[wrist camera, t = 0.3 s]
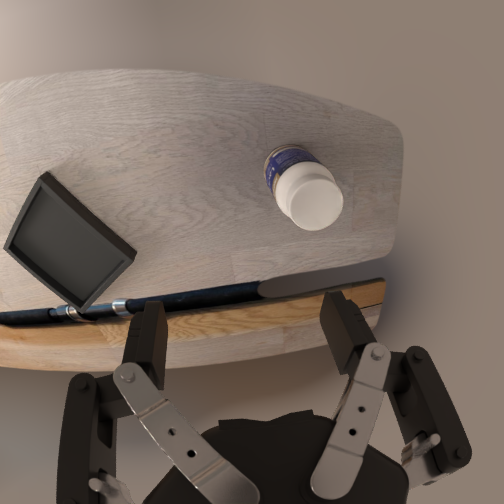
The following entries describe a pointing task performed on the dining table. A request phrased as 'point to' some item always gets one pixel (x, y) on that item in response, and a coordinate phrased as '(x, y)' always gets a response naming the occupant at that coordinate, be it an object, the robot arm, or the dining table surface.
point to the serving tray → (66, 245)
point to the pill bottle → (303, 187)
